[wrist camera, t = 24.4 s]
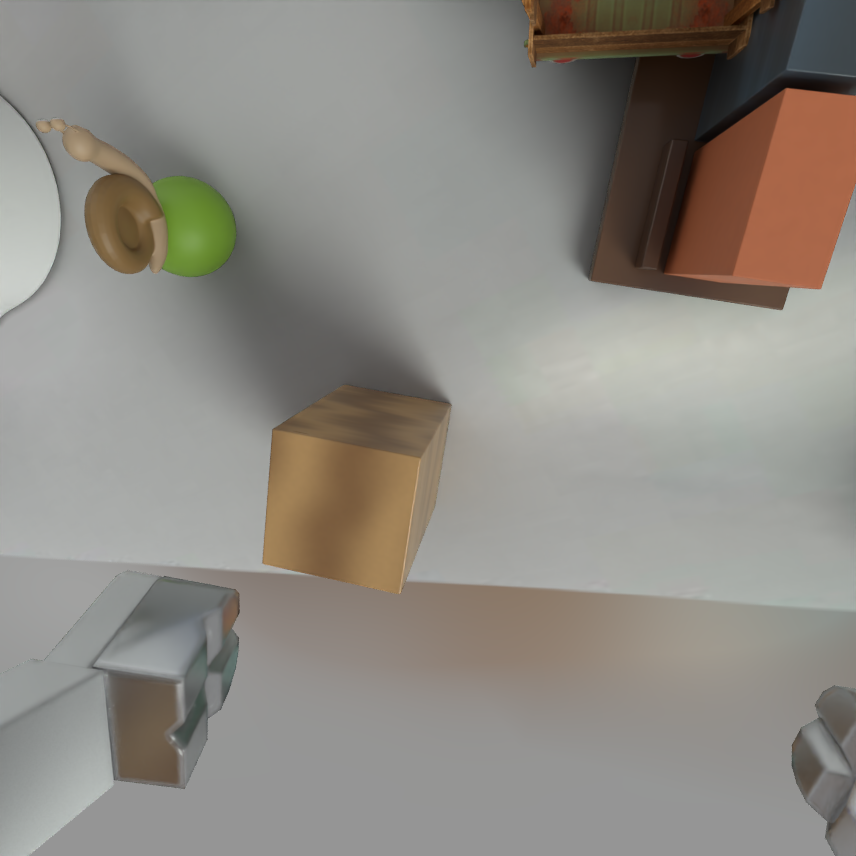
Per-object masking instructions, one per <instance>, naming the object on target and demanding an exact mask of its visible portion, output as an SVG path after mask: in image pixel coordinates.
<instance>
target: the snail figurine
mask: <svg viewBox="0 0 856 856" xmlns="http://www.w3.org/2000/svg"><path fill="white" fill-rule="evenodd" d="M65 126H66V127H68V128H67V129H66V130H65V131H63V130H64V129H65ZM36 127H37V128H38V130H39V131H41V132H43V133H48V132H50V131H51V128H53V129H54V130H56V131H60V132H62V133H63V145H64V147H65V149H66V151H67V152H68V153H69V154H70V155H71V156H72V157H73V158H74V159H76V160H78V161H82V162H88V161H90V162H92V163H94V164H95V165H97V166H99V167H100V168H102V169H103V170H105V171H107V172H108V173H110V174H111V175H107V176H104V177H102V178H100V179H98V180H97V181H96V182H95V183H94V184H93V186H92V187H91V188H90V190H89V192H88V194H87V197H86V202H85V223H86V228H87V232H88V235H89V238H90V241H91V243H92V245H93V247H94V249H95V251H96V252H97V254H98V255H99V256H100V258H101V259H102V260H103V261H104V262H105V263H106V264H107V265H108V266H110V267H111V268H113V269H114V270H116V271H118V272H121V273H125V274H134V273H138V272H140V271H142V270H143V269H145V268H146V266H147V265H148V264H149V266H150V269H151V271H152V272H153V273H155V274H156V273H158V272H159V271H160V270H161V268H162V269H164V270H165V271H167V272H170V273H172V274H175V275H179V276H185V277H197V276H203V275H206V274H209V273H211V272H213V271H215V270H217V269H218V268H220V267H221V266H222V265H223V264H224V263H225V262H226V261H227V260H228V258H229V257H230V255H231V253H232V251H233V249H234V246H235V241H236V224H235V219H234V216H233V213H232V211H231V209H230V207H229V205H228V204H227V202H226V201H225V199H224V198H223V197H222V196H221V195H220V194H219V193H218V192H217V191H216V190H215V189H214V188H212V187H211V186H209V185H208V184H206V183H204V182H202V181H200V180H197V179H194V178H191V177H185V176H172V177H166V178H163V179H160V180H158V181H156V182H154V183H153V184H152V182H151V180H150V179H149V177H148V176H147V175H146V173H145V172H144V171H143V170H142V169H141V168H140V167H139V166H138V165H137V164H136V163H135V162H134V161H133V160H131V159H130V158H129V157H128V156H126V155H125V154H124V153H122V152H121V151H119V150H118V149H116V148H114V147H113V146H111V145H109V144H108V143H106V142H104V141H101V140H99V139H97V138H96V137H95V136H94V135H93V134H92V133H91V132H90V131H89V130H87V129H84V128H82V127H80V126H77V125H72V126H69V125H66V124H65V122H64V120H63V119H61V118H57V117H55V118H52V119H51V120H50V122H49V121H48V120H45V119H40V120H37V122H36Z"/></svg>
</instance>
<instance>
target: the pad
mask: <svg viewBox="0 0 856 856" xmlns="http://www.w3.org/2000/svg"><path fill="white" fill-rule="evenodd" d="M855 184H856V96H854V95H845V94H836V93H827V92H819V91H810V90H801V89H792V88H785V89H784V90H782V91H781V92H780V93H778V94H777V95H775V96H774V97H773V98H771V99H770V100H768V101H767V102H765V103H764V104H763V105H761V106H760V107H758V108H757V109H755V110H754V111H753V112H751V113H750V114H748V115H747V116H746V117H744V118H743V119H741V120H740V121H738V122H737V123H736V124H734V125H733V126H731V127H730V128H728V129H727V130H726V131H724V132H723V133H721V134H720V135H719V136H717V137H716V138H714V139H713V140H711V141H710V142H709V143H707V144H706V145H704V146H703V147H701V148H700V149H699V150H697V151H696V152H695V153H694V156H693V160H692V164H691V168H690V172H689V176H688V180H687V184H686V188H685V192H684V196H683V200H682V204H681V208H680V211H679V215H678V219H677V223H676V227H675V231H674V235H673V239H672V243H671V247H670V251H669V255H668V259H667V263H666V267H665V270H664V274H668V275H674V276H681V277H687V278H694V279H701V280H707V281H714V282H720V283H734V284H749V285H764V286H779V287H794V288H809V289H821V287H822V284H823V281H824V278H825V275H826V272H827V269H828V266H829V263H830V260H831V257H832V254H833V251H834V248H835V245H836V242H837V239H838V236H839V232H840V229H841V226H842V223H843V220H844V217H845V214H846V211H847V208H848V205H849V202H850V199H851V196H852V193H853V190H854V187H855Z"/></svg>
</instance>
